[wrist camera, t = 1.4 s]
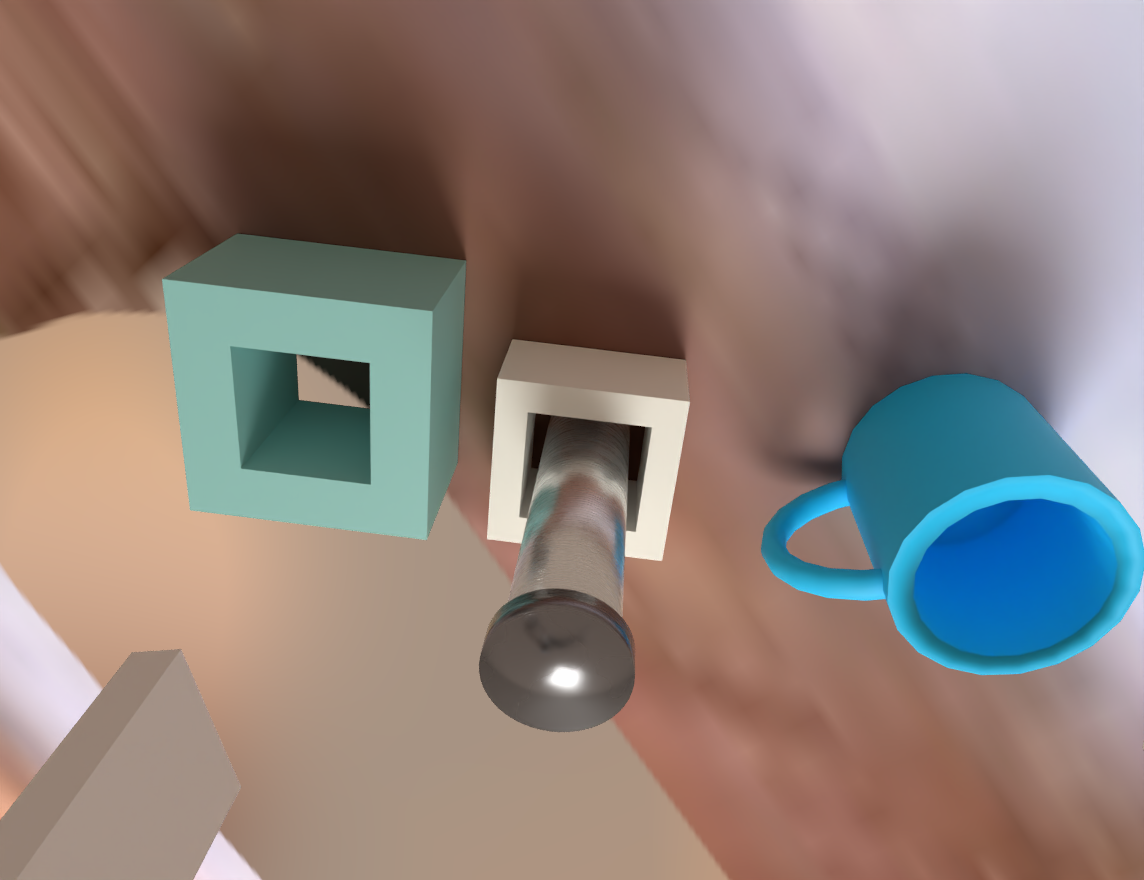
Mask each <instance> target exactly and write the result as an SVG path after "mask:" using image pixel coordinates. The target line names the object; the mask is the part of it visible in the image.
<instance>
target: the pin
mask: <svg viewBox="0 0 1144 880" xmlns="http://www.w3.org/2000/svg"><path fill="white" fill-rule="evenodd" d="M629 446H630V425H629V424H620V423H612V422H604V421H596V420H588V419H579V418H571V417H563V416H555V415H551V417H550V421H549V425H548V429H547V434H546V438H545V442H544V447H543V451H542V456H541V460H540V464H539V469H538V473H537V478H536V482H535V486H534V491H533V495H532V499H531V504H530V508H529V513H528V517H527V521H526V526H525V530H524V534H523V539H522V543H521V548H520V552H519V556H518V561H517V565H516V569H515V574H514V578H513V583H512V587H511V591H510V596H509V600H508V603H506V604H505V605H504V606H502V607H501V608H500V609H499V611H498V612H497V613H496V614H495V615H494V617H493V618H492V620H491V622H490V624H489V626H488V629H487V632H486V636H485V640H484V644H483V648H482V652H481V656H480V662H479V672H480V678H481V682H482V685H483V687H484V689H485V691H486V693H487V695H488V696H489V698H490V699H491V700H492V702H493V703H494V704H495V705H496V706H497V707H498V708H499V709H500V710H501V711H503V712H504V713H505V714H506V715H508V716H510V717H511V718H513V719H514V720H516V721H518V722H520V723H522V724H525V725H528V726H530V727H533V728H537V729H540V730H546V731H554V732H573V731H580V730H585V729H589V728H592V727H595V726H597V725H600V724H602V723H604V722H606V721H607V720H609V719H610V718H612V717H613V716H615V715H616V714H617V713H618V712H619V711H620V710H621V709H622V708H623V707H624V706H625V704H626V703H627V701H628V700H629V698H630V695H631V693H632V690H633V686H634V679H635V644H634V640H633V636H632V633H631V631H630V629H629V627H628V625H627V624H626V622H625V621H624V620H623V618H622V610H623V586H624V563H625V539H626V516H627V492H628V469H629Z"/></svg>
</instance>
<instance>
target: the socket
mask: <svg viewBox="0 0 1144 880" xmlns="http://www.w3.org/2000/svg"><path fill="white" fill-rule="evenodd" d="M465 278H466V260H458V259H449V258H441V257H432V256H424V255H415V254H407V253H398V252H390V251H381V250H373V249H364V248H356V247H348V246H339V245H331V244H322V243H314V242H305V241H297V240H288V239H280V238H271V237H263V236H254V235H246V234H236V235H234V236H232V237H231V238H229V239H227V240H226V241H224V242H222V243H221V244H219V245H218V246H216V247H214V248H213V249H211V250H209V251H208V252H206V253H204V254H203V255H201V256H199V257H198V258H196V259H194V260H193V261H191V262H189V263H188V264H186V265H184V266H183V267H181V268H180V269H178V270H176V271H175V272H173V273H171V274H170V275H168V276H166V277H165V278H163V279H162V282H163V291H164V299H165V307H166V315H167V323H168V331H169V340H170V348H171V356H172V365H173V373H174V381H175V389H176V397H177V406H178V413H179V422H180V430H181V438H182V446H183V455H184V463H185V471H186V479H187V487H188V496H189V504H190V510H193V511H201V512H209V513H217V514H225V515H233V516H241V517H249V518H257V519H264V520H272V521H281V522H289V523H297V524H304V525H313V526H320V527H328V528H337V529H345V530H352V531H360V532H368V533H376V534H384V535H392V536H400V537H408V538H416V539H424V540H427V538H428V536H429V533H430V531H431V528H432V526H433V523H434V521H435V518H436V516H437V513H438V511H439V508H440V506H441V503H442V501H443V498H444V496H445V493H446V491H447V488H448V486H449V483H450V481H451V478H452V476H453V473H454V471H455V468H456V466H457V463H458V442H459V419H460V395H461V372H462V348H463V325H464V302H465ZM296 354H300V355H308V356H316V357H324V358H333V359H341V360H349V361H357V362H366V363H370V409H368V408H360V407H351V406H343V405H335V404H327V403H319V402H311V401H302V400H299V397H298V377H297V358H296Z"/></svg>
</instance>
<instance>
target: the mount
mask: <svg viewBox="0 0 1144 880" xmlns="http://www.w3.org/2000/svg"><path fill="white" fill-rule="evenodd" d="M689 404H690V397H689V387H688V377H687V367H686V360H682V359H674V358H665V357H657V356H649V355H640V354H632V353H624V352H615V351H607V350H599V349H590V348H582V347H574V346H565V345H557V344H549V343H540V342H532V341H524V340H515V339H512V341H511V344H510V347H509V349H508V352H507V354H506V357H505V360H504V362H503V365H502V367H501V370H500V373H499V375H498V378H497V391H496V407H495V422H494V438H493V454H492V470H491V485H490V501H489V517H488V533H487V539H491V540H499V541H507V542H515V543H522V539H523V534H524V530H525V526H526V521H527V517H528V513H529V508H530V504H531V499H532V495H533V491H534V486H535V482H536V478H537V473H538V469H536V468H531V463H532V452H533V440H534V429H535V417H536V413H538V414H547V415H555V416H563V417H571V418H579V419H588V420H596V421H604V422H612V423H620V424H629V425H637V426H645V432H644V438H643V445H642V451H641V458H640V465H639V471H638V478H637V481H633V480H628V492H627V516H626V539H625V556H626V557H634V558H642V559H650V560H658V561H662V558H663V552H664V546H665V541H666V535H667V529H668V524H669V518H670V512H671V507H672V501H673V495H674V489H675V484H676V478H677V472H678V467H679V461H680V455H681V450H682V444H683V438H684V433H685V427H686V421H687V416H688V410H689Z"/></svg>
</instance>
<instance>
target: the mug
mask: <svg viewBox="0 0 1144 880" xmlns="http://www.w3.org/2000/svg"><path fill="white" fill-rule="evenodd" d="M846 506H850V508H851V510H852V513H853V515H854V518H855V521H856V523H857V526H858V528H859V531H860V534H861V536H862V539H863V541H864V544H865V547H866V549H867V552H868V554H869V557H870V560H871V562H872V565H873V567H874V569H869V570H851V569H833V568H827V567H823V566H819V565H815V564H811V563H807V562H804V561H802V560H800V559H798V558H797V557H795V556H793V555H791V554H790V553H789V552H788V550H787V548H786V543H787V541H788V539H789V538H790V537H791V535H792V534H793V533H794V531H796V530H797V529H799V528H800V527H802V526H803V525H804V524H806V523H807V522H809V521H810V520H812V519H814V518H816V517H818V516H821V515H823V514H826V513H828V512H830V511H833V510H835V509H838V508H842V507H846ZM761 553H762V556H763V558H764V559H765V561H766V563H767V565H768V566H769V568H770V570H771V571H772V573H773V574H774V575H775V576H776V577H778V578H780V579H781V580H783V581H784V582H786V583H788V584H789V585H791V586H792V587H794V588H796V589H797V590H801V591H804V592H808V593H812V594H815V595H819V596H823V597H826V598H837V599H851V600H865V601H866V600H878V599H886V601H887V604H888V606H889V609H890V612H891V614H892V617H893V619H894V622H895V625H896V627H897V630H898V631H899V632H900V633H901V634H902V635H903V636H904V637H905V638H906V640H907V641H908V642H909V643H910V644H911V645H912V646H913V647H914V648H915V649H916V650H917V652H919V653H921V654H922V655H924V656H926V657H928V658H930V659H932V660H934V661H936V662H937V663H939V664H941V665H943V666H945V667H947V668H951V669H956V670H961V671H965V672H970V673H975V674H979V675H998V674H1021V673H1025V672H1029V671H1032V670H1036V669H1040V668H1044V667H1048V666H1052V665H1056V664H1059V663H1060V662H1062V661H1064V660H1066V659H1068V658H1070V657H1072V656H1074V655H1076V654H1078V653H1080V652H1082V651H1084V650H1086V649H1087V648H1089V647H1091V646H1093V645H1094V644H1095V643H1096V642H1097V641H1099V640H1100V639H1101V638H1102V637H1103V636H1104V635H1105V634H1107V633H1108V632H1109V631H1110V630H1111V629H1112V628H1113V627H1115V626H1116V625H1117V624H1118V623H1119V622H1120V621H1121V620H1122V618H1123V617H1124V615H1125V613H1126V612H1127V610H1128V609H1129V607H1130V605H1131V604H1132V602H1133V601H1134V599H1135V598H1136V596H1137V594H1138V593H1139V591H1140V586H1141V581H1142V577H1143V572H1144V547H1143V542H1142V537H1141V532H1140V528H1139V527H1138V526H1137V524H1136V523H1135V522H1134V520H1133V519H1132V518H1131V516H1130V515H1129V514H1128V512H1127V511H1126V510H1125V508H1124V507H1123V506H1122V504H1121V503H1120V502H1119V501H1118V500H1117V498H1116V497H1115V496H1114V495H1113V494H1112V493H1111V492H1110V491H1109V490H1108V489H1107V487H1106V486H1105V485H1104V484H1103V483H1102V482H1101V481H1100V480H1099V479H1098V478H1097V476H1096V475H1095V474H1094V473H1093V472H1092V471H1091V470H1090V469H1089V468H1088V466H1087V465H1086V464H1085V463H1084V462H1083V461H1082V460H1081V459H1080V458H1079V457H1078V455H1077V454H1076V453H1075V452H1074V451H1073V450H1072V449H1071V448H1070V447H1069V446H1068V444H1067V443H1066V442H1065V441H1064V440H1063V439H1062V438H1061V437H1060V436H1059V435H1058V433H1057V432H1056V431H1055V430H1054V429H1053V428H1052V427H1051V426H1050V425H1049V424H1048V422H1047V421H1046V420H1045V419H1044V418H1043V417H1042V416H1041V415H1040V414H1039V413H1038V411H1037V410H1036V409H1035V408H1034V407H1033V406H1032V405H1031V404H1030V403H1029V402H1028V400H1027V399H1026V398H1025V397H1024V396H1023V395H1021V394H1020V393H1018V392H1016V391H1015V390H1013V389H1011V388H1010V387H1008V386H1006V385H1005V384H1003V383H1002V382H1000V381H998V380H995V379H990V378H986V377H981V376H976V375H972V374H967V373H963V374H949V375H935V376H930V377H927V378H925V379H922V380H919V381H916V382H913V383H910V384H907V385H905V386H902V387H900V388H898V389H897V390H895V391H894V392H892V393H891V394H889V395H888V396H886V397H885V398H884V399H882V400H881V401H879V402H878V403H876V404H875V405H873V406H872V407H871V409H870V410H869V411H868V412H867V413H866V415H865V416H864V417H863V418H862V419H861V421H860V422H859V423H858V424H857V426H856V427H855V428H854V429H853V431H852V433H851V436H850V438H849V441H848V443H847V446H846V448H845V451H844V453H843V456H842V480H839V481H836V482H832V483H828V484H826V485H823V486H821V487H819V488H816V489H814V490H811V491H809V492H807V493H804V494H802V495H800V496H799V497H797V498H796V499H794V500H793V501H791V502H790V503H788V504H787V505H785V506H784V507H782V508H781V509H779V510H778V511H777V513H776V514H775V515H774V516H773V518H772V519H771V520H770V521H769V523H768V524H767V525H766V527H765V528H764V532H763V539H762V545H761Z"/></svg>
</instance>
